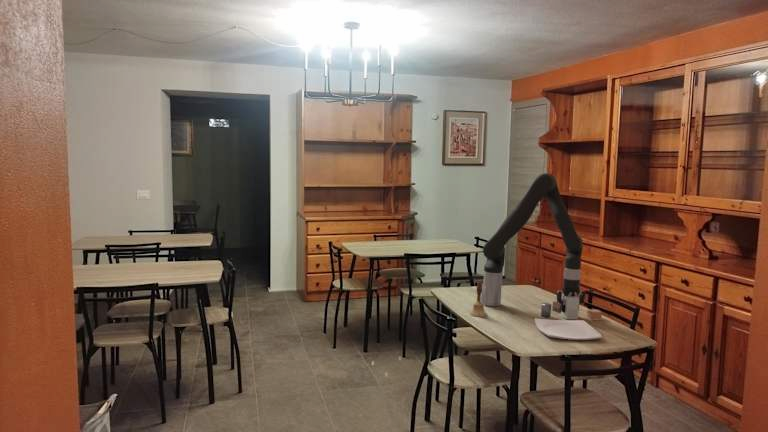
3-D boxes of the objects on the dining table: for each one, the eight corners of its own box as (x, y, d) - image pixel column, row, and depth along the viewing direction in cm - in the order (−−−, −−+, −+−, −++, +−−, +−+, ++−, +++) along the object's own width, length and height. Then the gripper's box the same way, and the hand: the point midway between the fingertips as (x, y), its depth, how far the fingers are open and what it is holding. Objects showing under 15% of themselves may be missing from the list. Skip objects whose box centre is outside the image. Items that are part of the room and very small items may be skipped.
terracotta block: (591, 320, 243) (592, 312, 243) (586, 317, 247) (587, 309, 247) (601, 320, 244) (601, 311, 243) (596, 317, 248) (597, 309, 247)
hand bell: (466, 312, 249) (467, 280, 248) (481, 311, 252) (482, 279, 251) (474, 317, 242) (476, 284, 240) (490, 316, 245) (492, 283, 243)
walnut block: (558, 313, 254) (559, 304, 253) (552, 310, 258) (553, 301, 257) (565, 312, 255) (566, 303, 255) (559, 309, 259) (559, 301, 259)
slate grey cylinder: (543, 317, 244) (544, 305, 244) (539, 315, 249) (540, 303, 248) (552, 317, 245) (553, 305, 245) (547, 315, 249) (548, 302, 249)
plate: (530, 323, 237) (531, 317, 237) (584, 325, 236) (585, 319, 236) (545, 341, 213) (546, 335, 212) (606, 343, 212) (606, 337, 212)
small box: (578, 320, 243) (579, 298, 242) (566, 319, 243) (567, 297, 242) (572, 314, 251) (573, 293, 250) (560, 314, 251) (562, 293, 250)
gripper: (561, 279, 240) (559, 314, 242) (590, 279, 242) (587, 314, 244) (554, 275, 247) (551, 310, 249) (581, 275, 249) (579, 309, 251)
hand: (569, 311), depth 246 cm, fingers closed on small box, 6 cm apart
